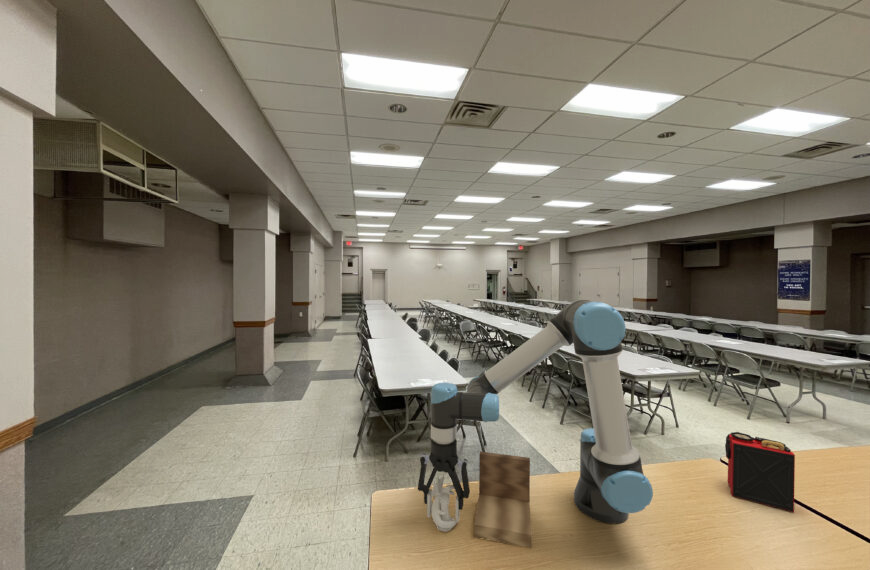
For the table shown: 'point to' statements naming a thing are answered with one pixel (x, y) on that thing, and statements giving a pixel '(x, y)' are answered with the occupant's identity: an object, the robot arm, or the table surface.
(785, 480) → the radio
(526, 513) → the wall shelf
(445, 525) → the figurine
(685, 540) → the table surface
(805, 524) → the table surface
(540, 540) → the table surface
